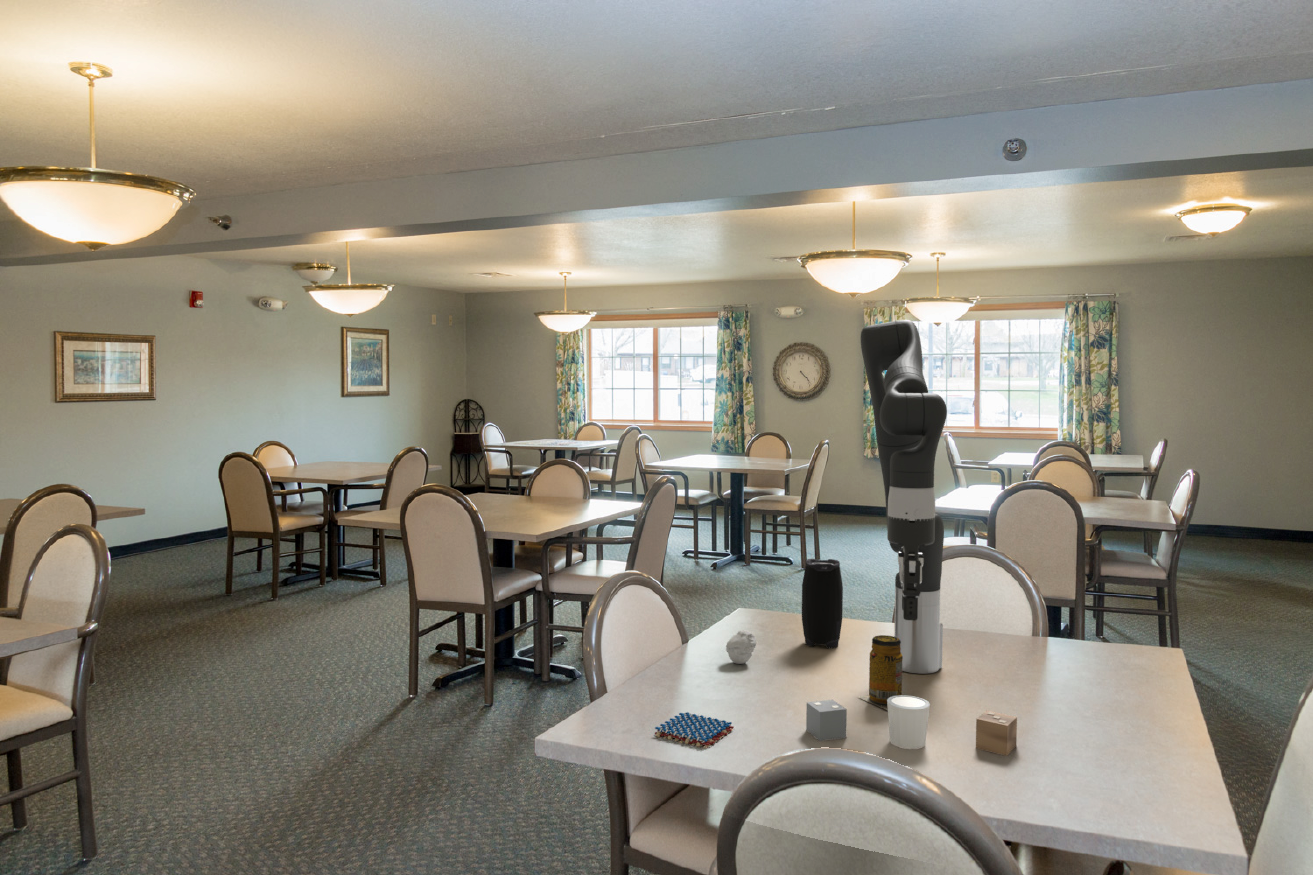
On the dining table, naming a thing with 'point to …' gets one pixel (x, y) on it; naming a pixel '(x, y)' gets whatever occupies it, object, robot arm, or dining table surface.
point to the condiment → (884, 670)
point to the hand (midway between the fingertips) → (909, 614)
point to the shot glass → (908, 721)
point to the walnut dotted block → (996, 732)
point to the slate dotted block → (826, 720)
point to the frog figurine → (741, 647)
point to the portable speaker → (822, 602)
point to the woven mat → (694, 729)
